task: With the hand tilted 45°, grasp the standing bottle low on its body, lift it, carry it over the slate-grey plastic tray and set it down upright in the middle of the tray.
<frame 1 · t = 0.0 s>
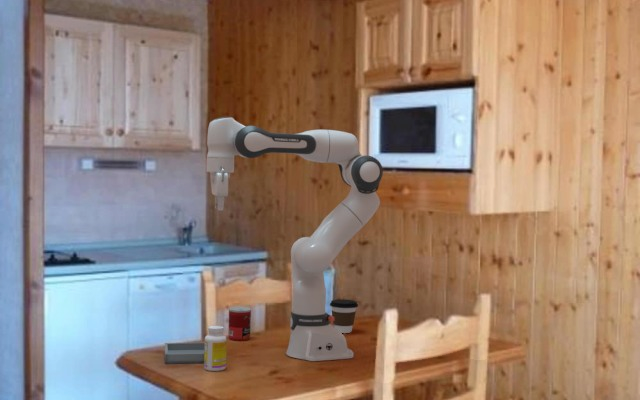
hand: (219, 209, 241), 48 cm above the table, tool pointing down, fingers open, 8 cm apart
supplement bottle: (214, 369, 228), on the table
coffee cup: (343, 332, 287), on the table
tray: (192, 357, 241), on the table
canned food: (239, 339, 270), on the table
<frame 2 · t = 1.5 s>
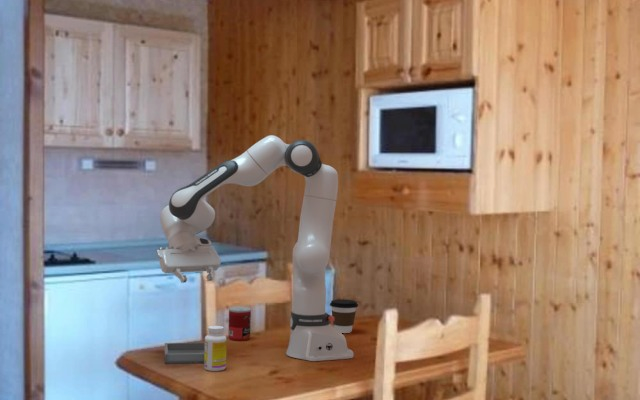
hand: (197, 280, 237), 25 cm above the table, tool tilted 45°, fingers open, 8 cm apart
nothing on the table moved.
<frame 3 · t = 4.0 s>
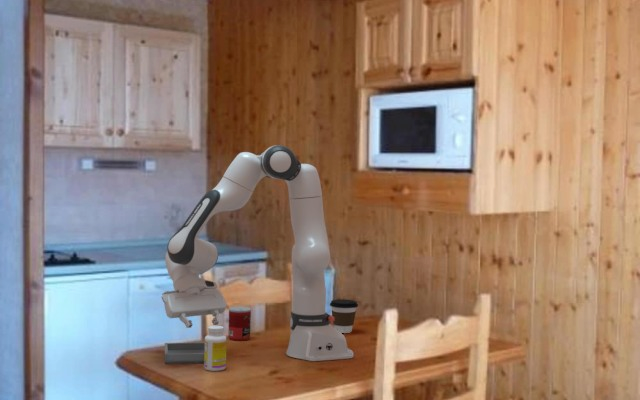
hand: (203, 325, 234), 12 cm above the table, tool tilted 45°, fingers open, 8 cm apart
nothing on the table moved.
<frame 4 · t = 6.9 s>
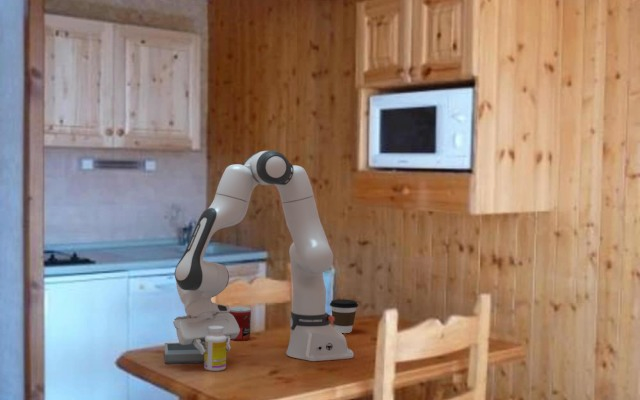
hand: (216, 351, 227), 5 cm above the table, tool tilted 45°, fingers closed on supplement bottle, 7 cm apart
supplement bottle: (214, 369, 228), on the table, touching gripper
everything else where it was.
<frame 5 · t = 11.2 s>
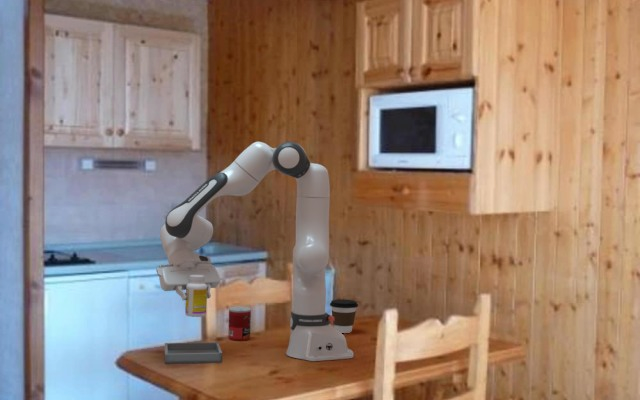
hand: (197, 298, 238), 20 cm above the table, tool tilted 45°, fingers closed on supplement bottle, 7 cm apart
supplement bottle: (195, 316, 239), point 14 cm above the table, touching gripper
everything else where it was.
when the fingers open (8 cm above the table, at t = 15.6 s): supplement bottle drops 1 cm, resting on tray.
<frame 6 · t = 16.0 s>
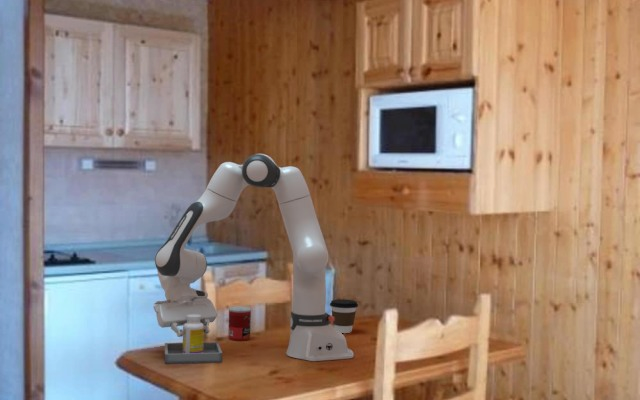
hand: (194, 334, 240), 8 cm above the table, tool tilted 45°, fingers open, 8 cm apart
supplement bottle: (192, 355, 241), point 1 cm above the table, touching tray
everything else where it was.
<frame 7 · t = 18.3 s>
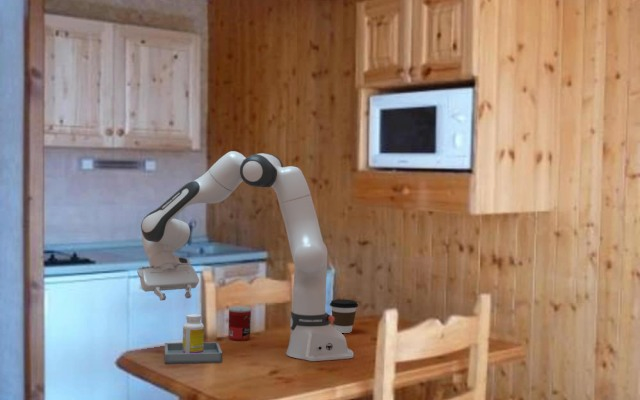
hand: (176, 298, 250), 17 cm above the table, tool tilted 45°, fingers open, 8 cm apart
nothing on the table moved.
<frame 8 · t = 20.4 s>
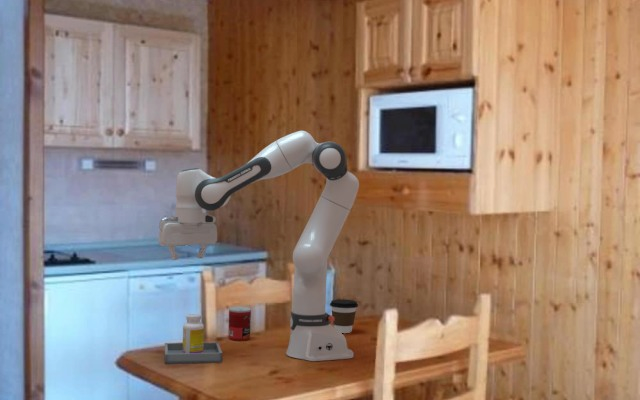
hand: (187, 258, 248), 31 cm above the table, tool pointing down, fingers open, 8 cm apart
nothing on the table moved.
at the end: supplement bottle inside the target area on the tray (0.0 cm from its centre), point 0.6 cm above the tray's base; supplement bottle tilted 0°; the gripper is holding nothing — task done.
